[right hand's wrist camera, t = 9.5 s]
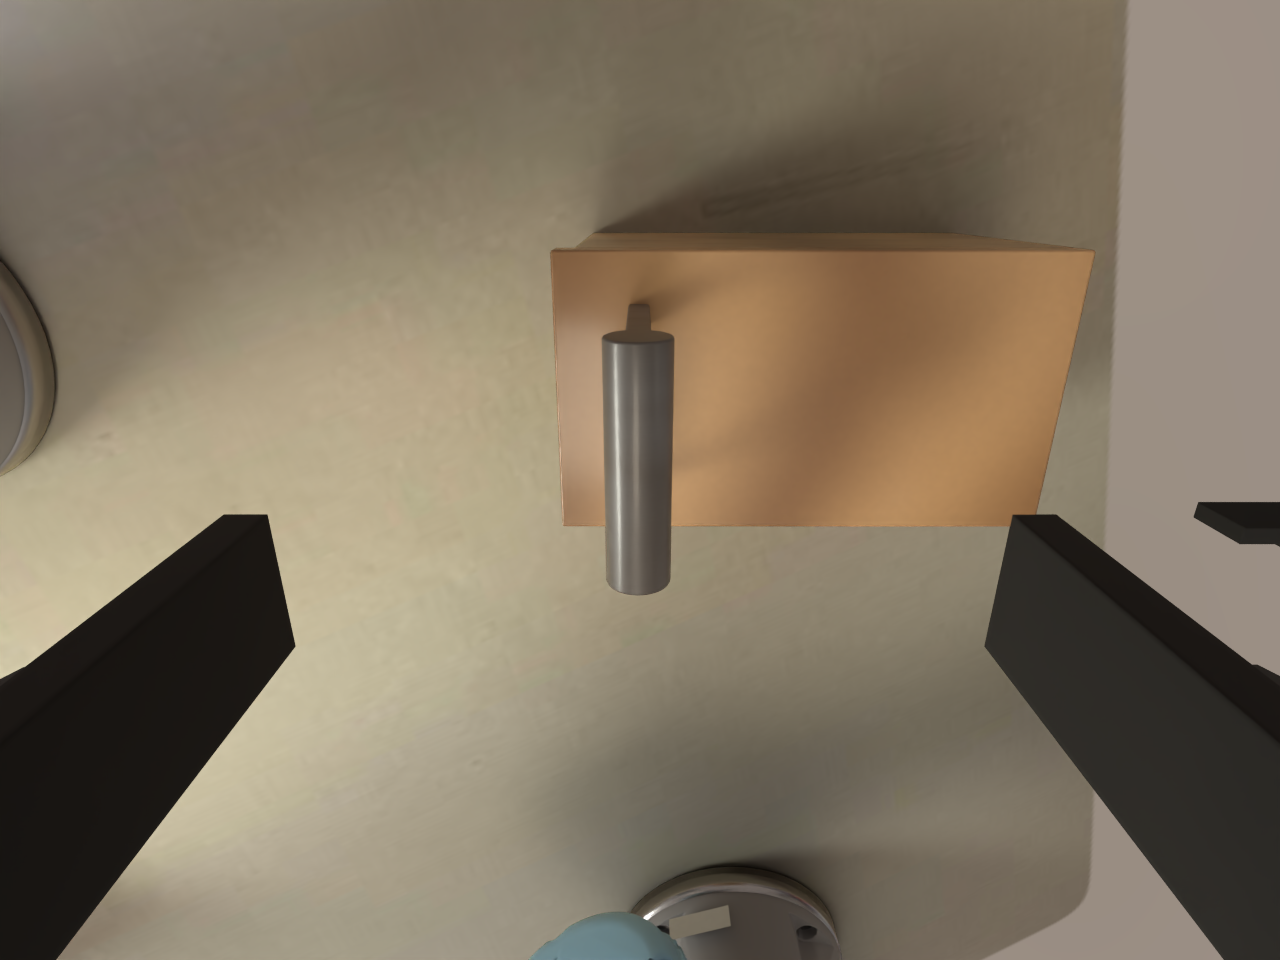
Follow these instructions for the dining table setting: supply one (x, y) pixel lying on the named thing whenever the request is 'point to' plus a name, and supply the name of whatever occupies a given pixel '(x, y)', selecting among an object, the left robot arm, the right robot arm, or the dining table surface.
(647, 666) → the dining table surface
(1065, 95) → the dining table surface
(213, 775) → the dining table surface
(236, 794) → the dining table surface
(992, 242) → the chest
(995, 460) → the lid
